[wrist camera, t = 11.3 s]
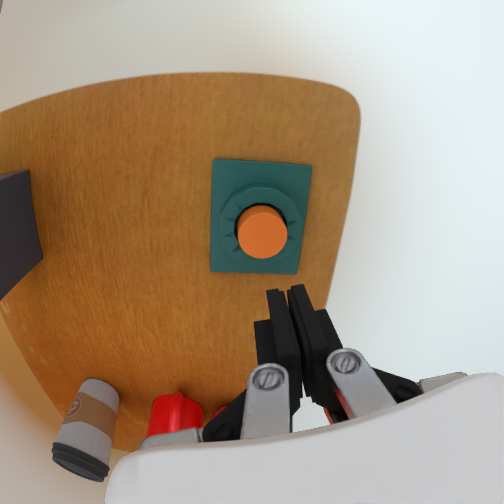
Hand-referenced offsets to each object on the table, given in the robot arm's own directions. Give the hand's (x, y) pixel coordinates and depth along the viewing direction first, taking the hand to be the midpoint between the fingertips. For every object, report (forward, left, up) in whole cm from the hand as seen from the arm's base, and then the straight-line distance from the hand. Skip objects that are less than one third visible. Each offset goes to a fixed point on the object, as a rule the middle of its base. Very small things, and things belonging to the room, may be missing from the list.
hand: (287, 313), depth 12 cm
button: (0, 0, -11) cm, 11 cm away
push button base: (0, 0, -13) cm, 13 cm away
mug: (+25, -16, -13) cm, 32 cm away
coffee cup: (+22, -28, -13) cm, 38 cm away
